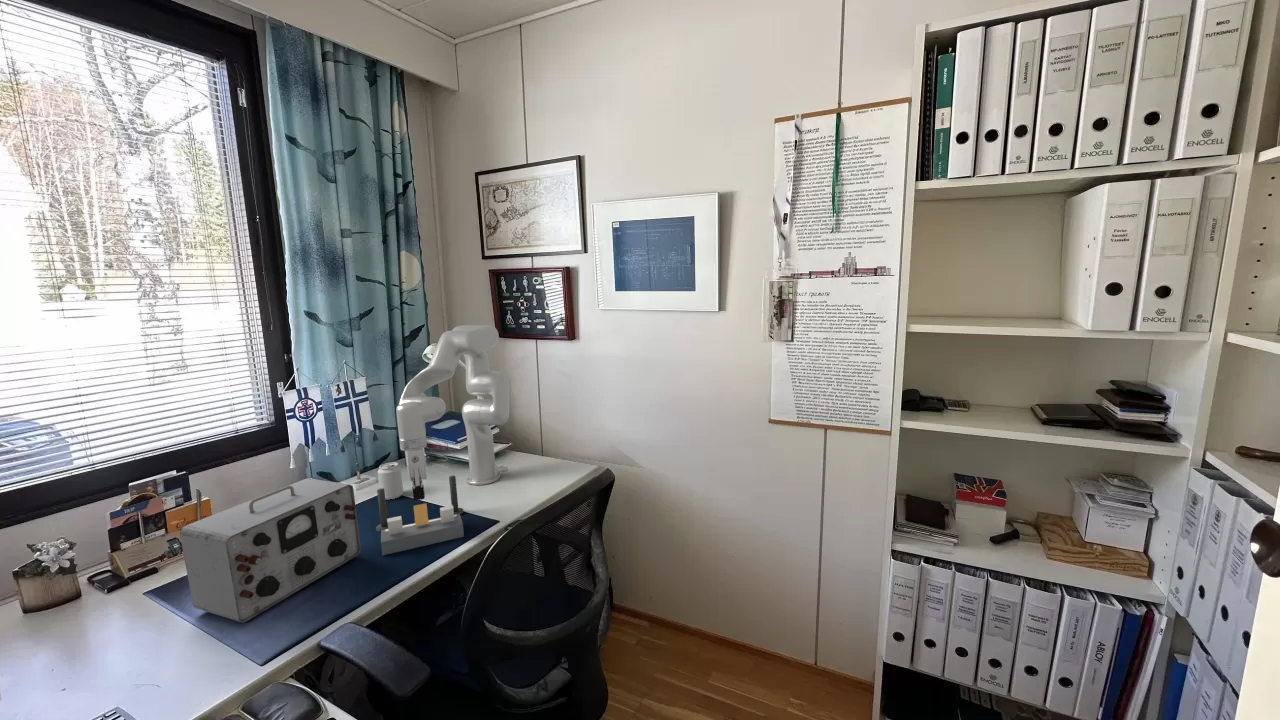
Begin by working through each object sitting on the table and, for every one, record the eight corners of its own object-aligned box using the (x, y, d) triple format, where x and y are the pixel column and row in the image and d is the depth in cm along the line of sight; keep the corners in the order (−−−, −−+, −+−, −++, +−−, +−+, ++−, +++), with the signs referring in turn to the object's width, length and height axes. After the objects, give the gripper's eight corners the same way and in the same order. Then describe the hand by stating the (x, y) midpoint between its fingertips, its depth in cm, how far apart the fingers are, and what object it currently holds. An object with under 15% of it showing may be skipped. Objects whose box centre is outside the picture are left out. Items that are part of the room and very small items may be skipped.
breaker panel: (460, 525, 160) (459, 513, 159) (463, 536, 153) (462, 523, 152) (382, 542, 150) (381, 529, 150) (382, 555, 143) (380, 541, 143)
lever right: (453, 517, 155) (452, 505, 151) (453, 520, 154) (453, 508, 150) (440, 520, 153) (439, 507, 150) (441, 523, 152) (440, 511, 149)
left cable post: (393, 523, 163) (389, 485, 161) (393, 529, 158) (389, 490, 156) (376, 526, 161) (371, 488, 159) (375, 533, 156) (371, 494, 154)
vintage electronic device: (246, 632, 113) (229, 527, 109) (195, 616, 119) (176, 516, 115) (367, 558, 142) (356, 473, 138) (320, 548, 148) (309, 466, 144)
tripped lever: (428, 523, 152) (426, 503, 154) (428, 523, 151) (426, 503, 153) (415, 526, 151) (413, 506, 153) (415, 526, 150) (413, 505, 152)
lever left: (402, 528, 149) (401, 515, 145) (403, 531, 148) (401, 519, 144) (389, 531, 147) (387, 518, 144) (389, 534, 146) (387, 522, 143)
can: (397, 500, 180) (393, 468, 178) (376, 501, 180) (372, 468, 178) (407, 491, 187) (404, 460, 185) (387, 492, 187) (383, 461, 185)
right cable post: (462, 508, 172) (459, 472, 170) (464, 514, 167) (461, 477, 165) (446, 511, 170) (443, 475, 168) (448, 518, 165) (444, 480, 163)
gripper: (427, 447, 151) (433, 505, 154) (425, 434, 164) (430, 488, 167) (400, 451, 148) (406, 510, 150) (399, 437, 161) (405, 492, 164)
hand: (419, 498), depth 159 cm, fingers closed
